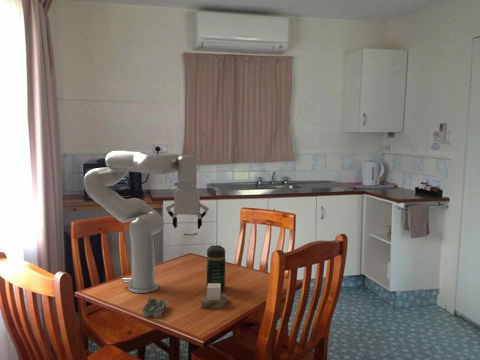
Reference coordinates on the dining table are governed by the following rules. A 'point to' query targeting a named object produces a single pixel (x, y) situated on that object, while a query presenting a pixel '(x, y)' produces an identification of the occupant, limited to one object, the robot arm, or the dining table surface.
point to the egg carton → (154, 308)
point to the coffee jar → (216, 265)
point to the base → (214, 302)
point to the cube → (213, 291)
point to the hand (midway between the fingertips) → (187, 227)
